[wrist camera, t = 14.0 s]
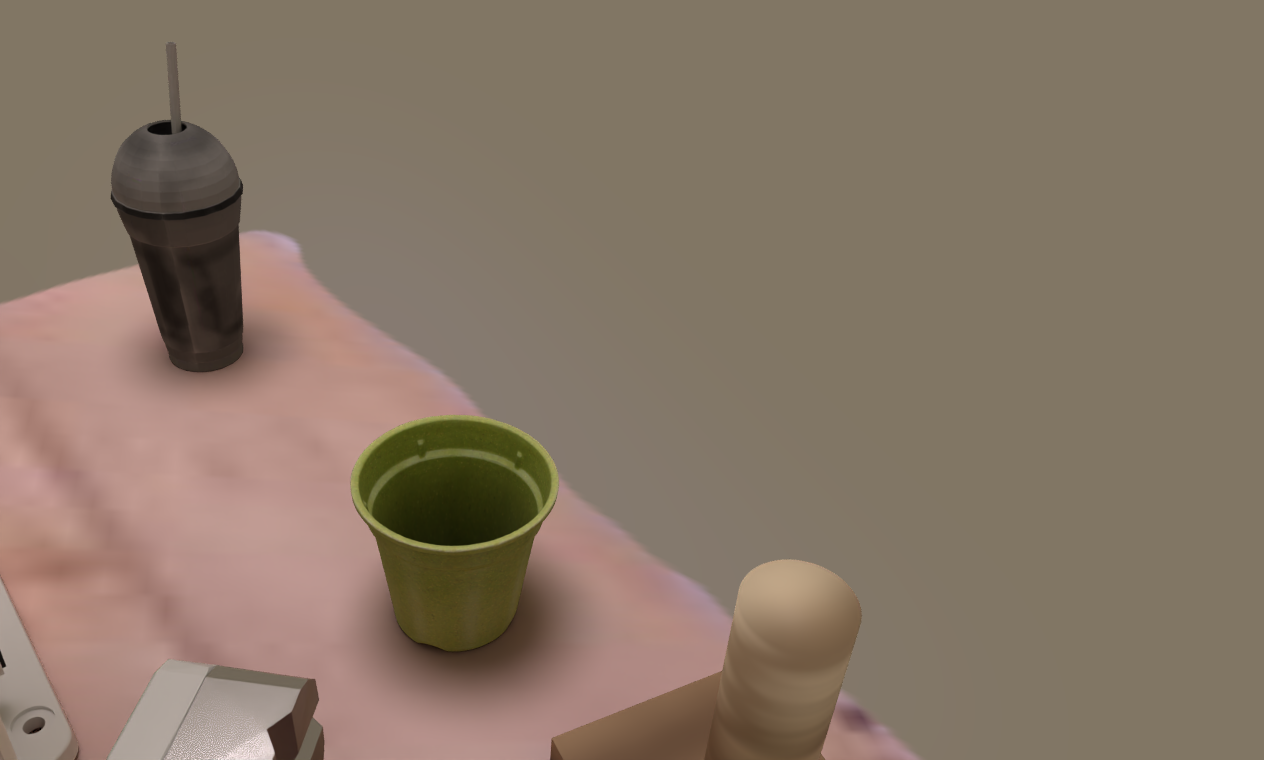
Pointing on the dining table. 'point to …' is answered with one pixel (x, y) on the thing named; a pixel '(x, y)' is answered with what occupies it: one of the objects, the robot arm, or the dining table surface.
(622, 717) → the brown wooden frame
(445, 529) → the plant pot
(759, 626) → the peg
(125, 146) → the beverage cup
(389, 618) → the dining table surface
